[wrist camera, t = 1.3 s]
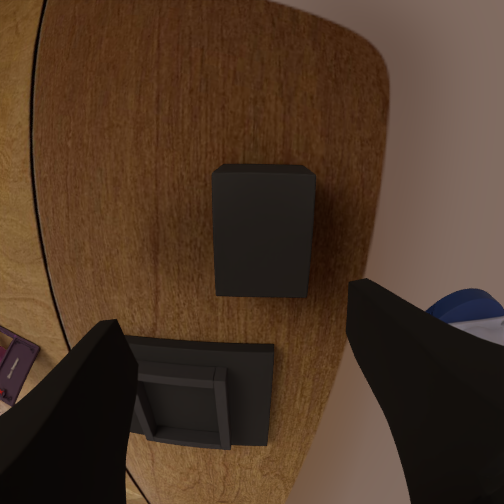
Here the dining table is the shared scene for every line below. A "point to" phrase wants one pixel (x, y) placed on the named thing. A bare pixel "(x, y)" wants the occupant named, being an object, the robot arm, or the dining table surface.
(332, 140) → the dining table surface
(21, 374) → the game card
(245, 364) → the base pad
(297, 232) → the small block
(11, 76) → the dining table surface
